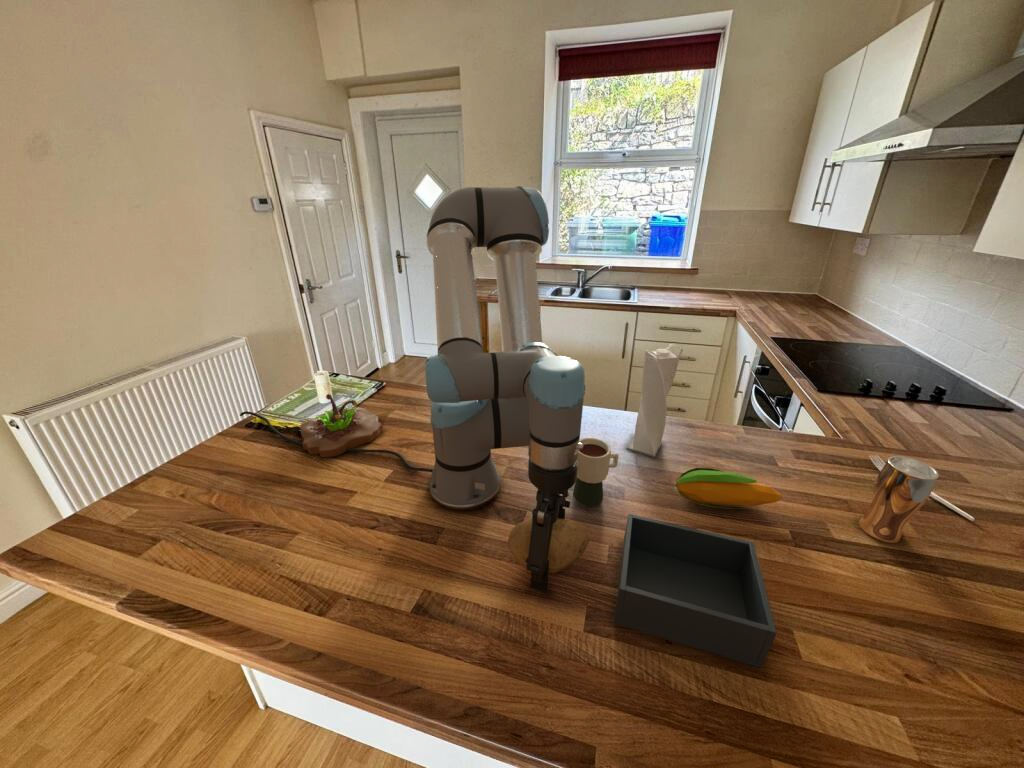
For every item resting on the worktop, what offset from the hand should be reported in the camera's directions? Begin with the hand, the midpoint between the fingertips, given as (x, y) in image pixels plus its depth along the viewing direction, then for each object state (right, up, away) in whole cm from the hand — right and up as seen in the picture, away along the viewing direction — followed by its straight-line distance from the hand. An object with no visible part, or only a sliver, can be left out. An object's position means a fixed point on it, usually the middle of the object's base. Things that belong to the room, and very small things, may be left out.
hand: (548, 559), depth 70 cm
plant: (-52, +17, +38) cm, 67 cm away
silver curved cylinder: (+64, +3, +6) cm, 64 cm away
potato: (0, 0, 0) cm, 0 cm away
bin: (+21, -3, -6) cm, 22 cm away
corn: (+38, +6, +13) cm, 40 cm away
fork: (+81, +8, +17) cm, 84 cm away
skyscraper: (+27, +14, +31) cm, 44 cm away
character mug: (+10, +7, +14) cm, 19 cm away
